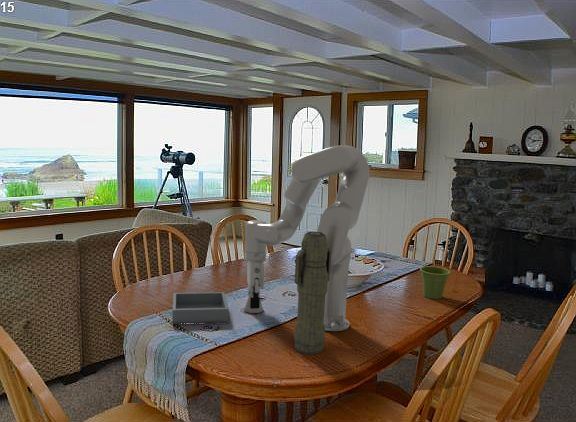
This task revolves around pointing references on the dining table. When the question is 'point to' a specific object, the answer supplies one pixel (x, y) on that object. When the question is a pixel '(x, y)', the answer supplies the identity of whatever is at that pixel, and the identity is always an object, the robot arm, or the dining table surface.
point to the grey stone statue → (311, 292)
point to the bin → (200, 308)
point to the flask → (247, 305)
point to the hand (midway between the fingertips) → (253, 305)
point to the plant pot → (434, 281)
